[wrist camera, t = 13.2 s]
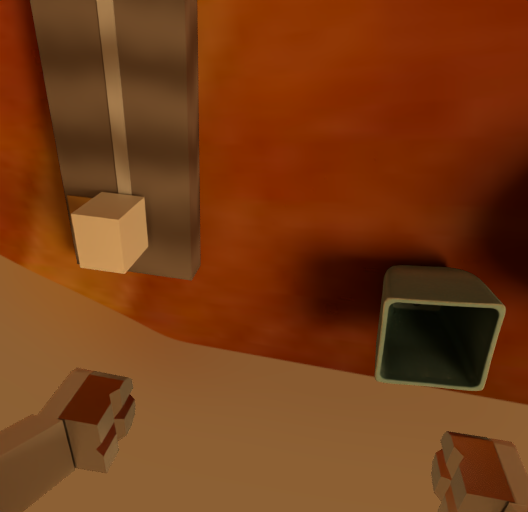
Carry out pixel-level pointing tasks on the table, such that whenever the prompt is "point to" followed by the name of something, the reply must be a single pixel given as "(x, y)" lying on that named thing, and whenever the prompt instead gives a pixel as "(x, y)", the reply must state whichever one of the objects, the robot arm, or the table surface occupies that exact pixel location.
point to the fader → (110, 232)
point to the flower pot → (436, 328)
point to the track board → (128, 114)
